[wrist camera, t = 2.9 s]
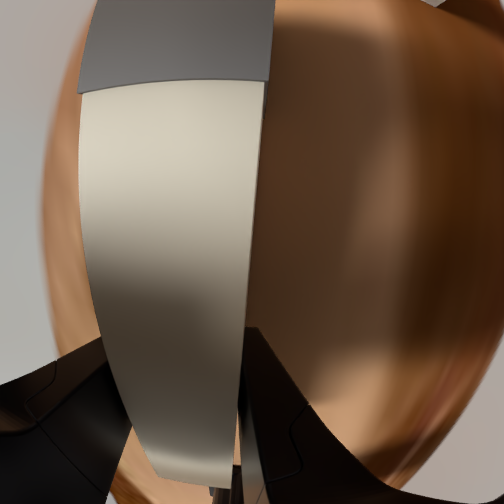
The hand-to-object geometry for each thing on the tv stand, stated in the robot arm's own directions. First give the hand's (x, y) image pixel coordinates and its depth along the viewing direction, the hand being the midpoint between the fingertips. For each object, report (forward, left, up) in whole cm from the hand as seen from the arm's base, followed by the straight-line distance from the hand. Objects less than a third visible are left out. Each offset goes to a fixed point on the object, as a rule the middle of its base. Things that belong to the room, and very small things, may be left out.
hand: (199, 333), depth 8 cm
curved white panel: (+2, 0, -1) cm, 2 cm away
